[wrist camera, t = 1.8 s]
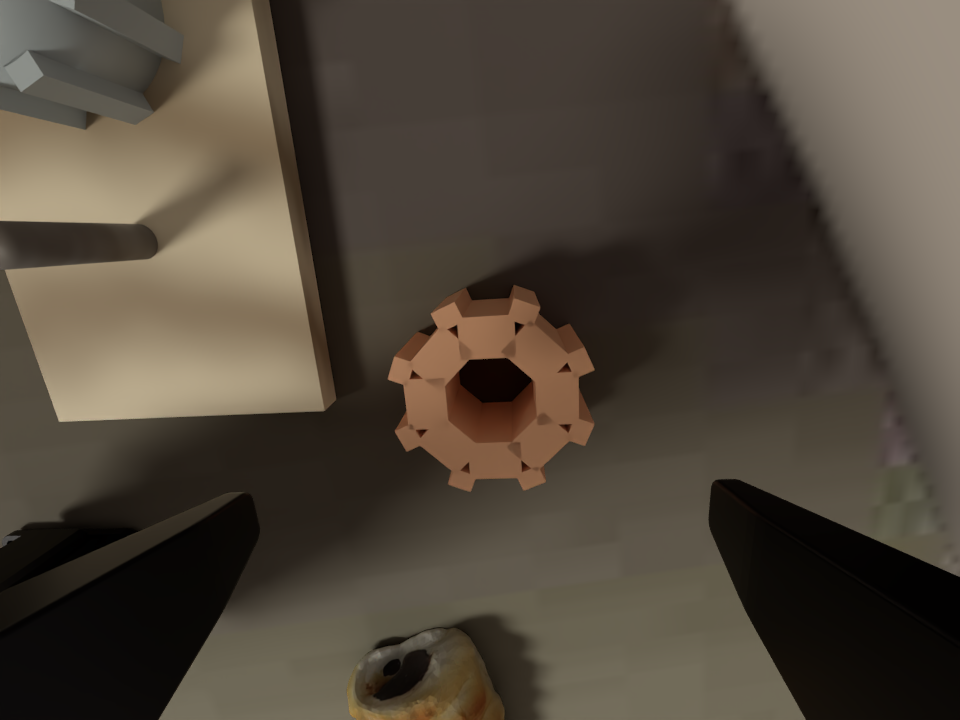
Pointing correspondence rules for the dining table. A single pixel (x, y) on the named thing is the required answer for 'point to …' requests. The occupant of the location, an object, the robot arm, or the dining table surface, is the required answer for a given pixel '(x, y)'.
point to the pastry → (424, 681)
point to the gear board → (171, 239)
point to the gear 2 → (498, 425)
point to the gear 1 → (82, 58)
